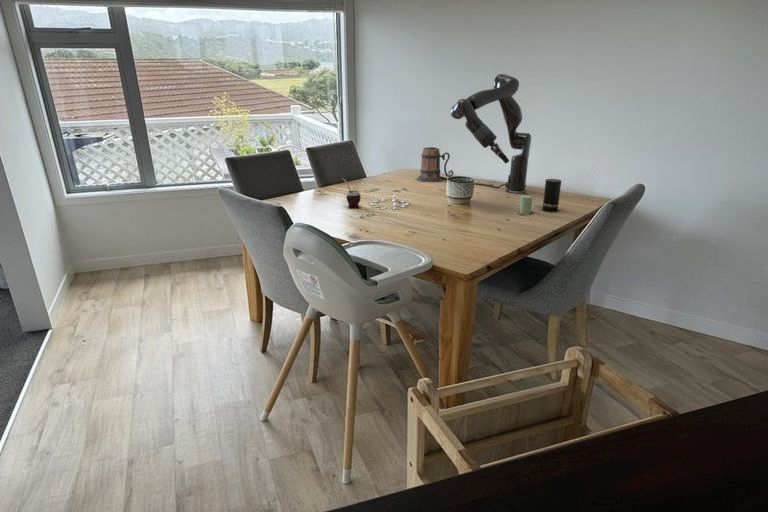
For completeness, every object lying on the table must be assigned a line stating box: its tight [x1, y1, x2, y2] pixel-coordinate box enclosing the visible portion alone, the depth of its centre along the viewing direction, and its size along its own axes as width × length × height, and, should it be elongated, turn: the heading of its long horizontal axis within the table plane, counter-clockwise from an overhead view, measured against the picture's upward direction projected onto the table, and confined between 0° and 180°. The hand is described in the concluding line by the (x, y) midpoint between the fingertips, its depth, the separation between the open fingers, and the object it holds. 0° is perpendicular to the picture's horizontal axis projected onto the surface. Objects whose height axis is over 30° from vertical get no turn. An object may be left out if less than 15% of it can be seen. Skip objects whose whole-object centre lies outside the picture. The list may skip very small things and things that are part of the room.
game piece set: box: [369, 193, 410, 210], centre depth 245 cm, size 19×20×4 cm
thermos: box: [542, 178, 562, 213], centre depth 233 cm, size 7×7×15 cm
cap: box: [519, 194, 533, 215], centre depth 230 cm, size 5×5×8 cm
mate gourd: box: [341, 177, 361, 209], centre depth 238 cm, size 8×8×15 cm
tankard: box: [416, 146, 454, 183], centre depth 305 cm, size 24×17×20 cm
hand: (506, 160), depth 225 cm, fingers open, 8 cm apart
